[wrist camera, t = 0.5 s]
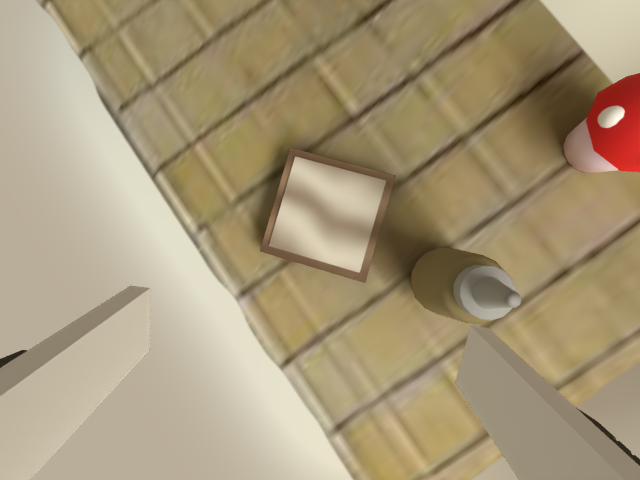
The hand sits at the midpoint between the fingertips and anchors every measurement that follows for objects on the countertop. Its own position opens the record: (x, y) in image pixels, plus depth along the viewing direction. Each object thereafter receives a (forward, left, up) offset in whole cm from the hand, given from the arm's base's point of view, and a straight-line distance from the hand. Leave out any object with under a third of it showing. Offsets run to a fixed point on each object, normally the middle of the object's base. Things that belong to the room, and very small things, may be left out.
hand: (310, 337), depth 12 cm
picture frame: (-8, -3, -28) cm, 30 cm away
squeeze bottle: (-4, +13, -29) cm, 32 cm away
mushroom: (-26, +27, -29) cm, 47 cm away
